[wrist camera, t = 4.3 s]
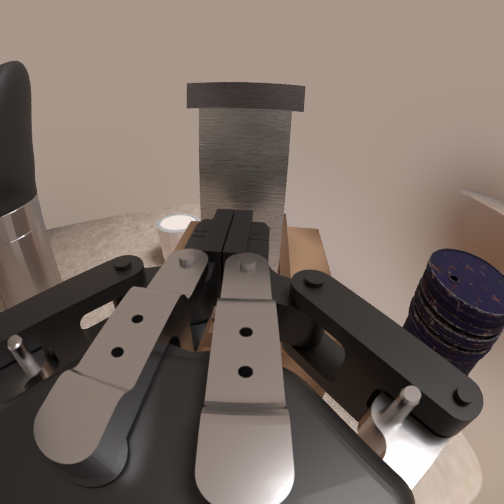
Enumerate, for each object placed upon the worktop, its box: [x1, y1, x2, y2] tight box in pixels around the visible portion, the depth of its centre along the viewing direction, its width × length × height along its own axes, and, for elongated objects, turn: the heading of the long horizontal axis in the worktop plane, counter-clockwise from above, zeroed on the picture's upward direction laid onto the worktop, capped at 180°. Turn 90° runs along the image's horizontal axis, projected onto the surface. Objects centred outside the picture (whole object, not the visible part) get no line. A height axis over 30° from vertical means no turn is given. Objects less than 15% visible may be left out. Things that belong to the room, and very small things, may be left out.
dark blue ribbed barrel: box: [403, 249, 504, 376], centre depth 22 cm, size 10×10×15 cm
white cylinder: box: [156, 214, 200, 261], centre depth 45 cm, size 7×7×7 cm
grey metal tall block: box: [187, 82, 305, 319], centre depth 16 cm, size 5×4×14 cm
